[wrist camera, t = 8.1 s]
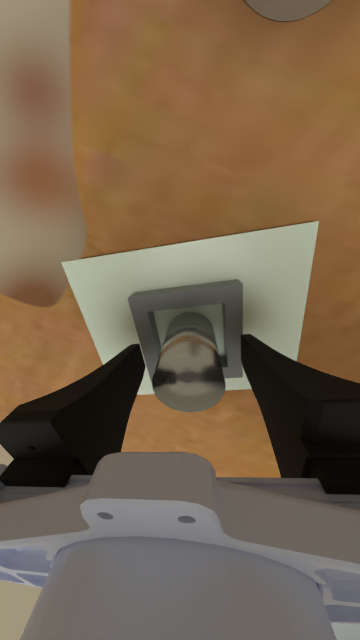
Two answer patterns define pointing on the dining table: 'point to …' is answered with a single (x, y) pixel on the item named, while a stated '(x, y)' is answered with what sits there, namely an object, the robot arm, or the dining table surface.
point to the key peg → (189, 365)
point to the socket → (200, 294)
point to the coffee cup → (286, 8)
